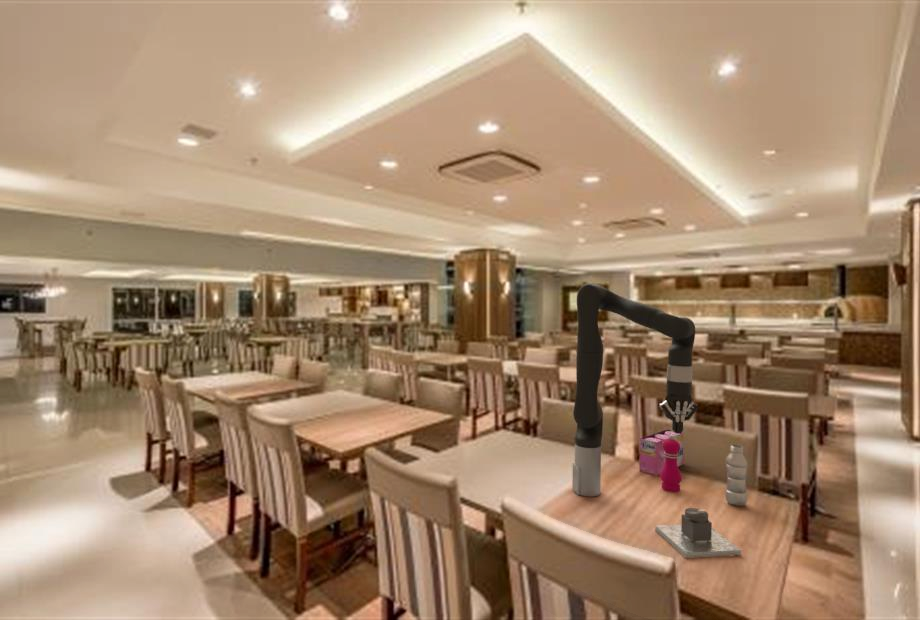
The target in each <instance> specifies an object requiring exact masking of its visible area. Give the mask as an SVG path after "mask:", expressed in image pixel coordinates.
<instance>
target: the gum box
mask: <svg viewBox="0 0 920 620" xmlns="http://www.w3.org/2000/svg"><path fill="white" fill-rule="evenodd" d="M670 435H673V436H674V440H676V441H677V442H678V443H679V444H680V450H679V452H678V454H679V455H678V456H679V457H678V458H677V466H678V468H679V467H681V466H684V465H685V462H684V461H685V456H684V455H685V454H684V452H685V451H684V432H682V433H681V434H676V433H674V431H672V430H671V429H663V430H660V431H659V432H658V431H657V432H656V433H652V434H649V435H645V436H643V437H639V459H638V460H639V461H638V462H639V466H638V467H639V469H638V470H641V471H640V472H642V471H644V473H645V472H647V473H646V474H649V473H650V474H649V475H652V474H653V476H656V475H657V476H659V475H661V471H662V469H663V467H664V465H665V456H664V451H665V450H664V449H663V442H664V441H665V440H667V439H669V436H670Z"/></svg>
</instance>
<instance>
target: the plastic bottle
mask: <svg viewBox="0 0 920 620" xmlns="http://www.w3.org/2000/svg"><path fill="white" fill-rule="evenodd" d="M729 450H730V452H729V454H727V456H726V458H725V465H726V466H725V467H726V477H727V480H726V488H725V494H724V495H725V500H726V502H727V503H728V504H730V505H733V506H737V507H744V506H746V505H747V503H748V494H747V487H746V477H747V469H748V461H747V458H746V457H745V456H744V454H743V453H744V447H743V445H739V444H731V445H730V448H729Z"/></svg>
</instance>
